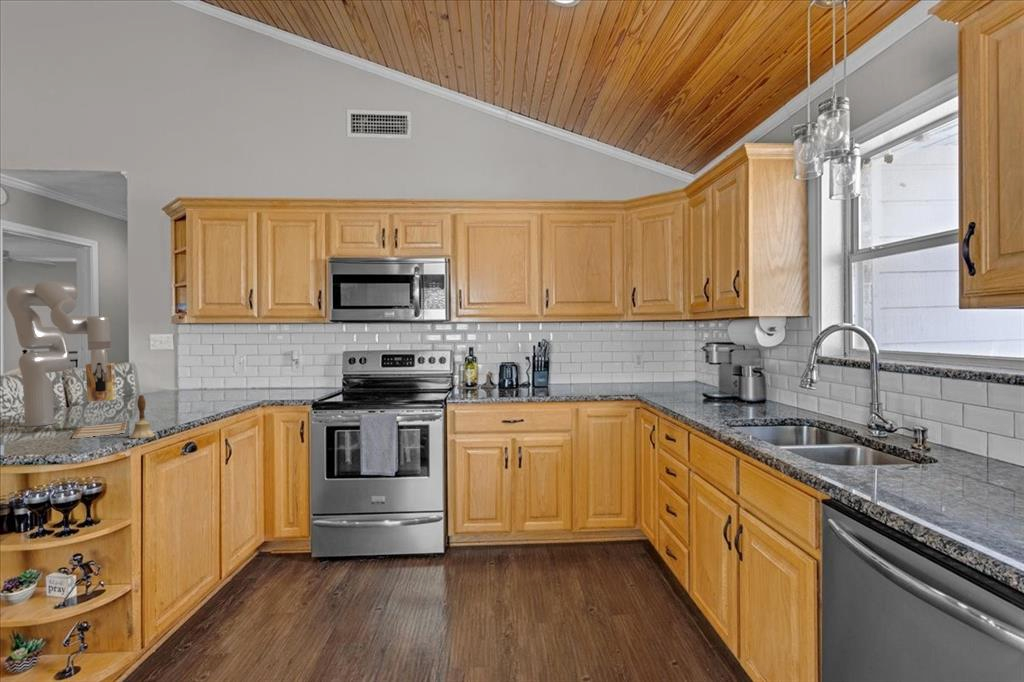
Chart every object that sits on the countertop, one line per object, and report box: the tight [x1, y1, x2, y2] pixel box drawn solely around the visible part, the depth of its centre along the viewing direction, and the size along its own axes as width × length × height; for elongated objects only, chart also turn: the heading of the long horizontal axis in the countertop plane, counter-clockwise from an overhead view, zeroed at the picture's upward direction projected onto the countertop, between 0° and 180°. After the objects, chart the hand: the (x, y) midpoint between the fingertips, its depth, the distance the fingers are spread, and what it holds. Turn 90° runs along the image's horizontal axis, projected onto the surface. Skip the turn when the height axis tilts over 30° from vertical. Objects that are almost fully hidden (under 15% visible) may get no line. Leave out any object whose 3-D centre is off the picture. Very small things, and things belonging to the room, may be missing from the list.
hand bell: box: [129, 394, 156, 439], centre depth 208 cm, size 8×8×16 cm
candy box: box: [85, 362, 117, 403], centre depth 224 cm, size 9×4×15 cm, turn 111°
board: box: [72, 421, 128, 439], centre depth 219 cm, size 22×16×2 cm
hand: (101, 389), depth 224 cm, fingers closed on candy box, 4 cm apart
